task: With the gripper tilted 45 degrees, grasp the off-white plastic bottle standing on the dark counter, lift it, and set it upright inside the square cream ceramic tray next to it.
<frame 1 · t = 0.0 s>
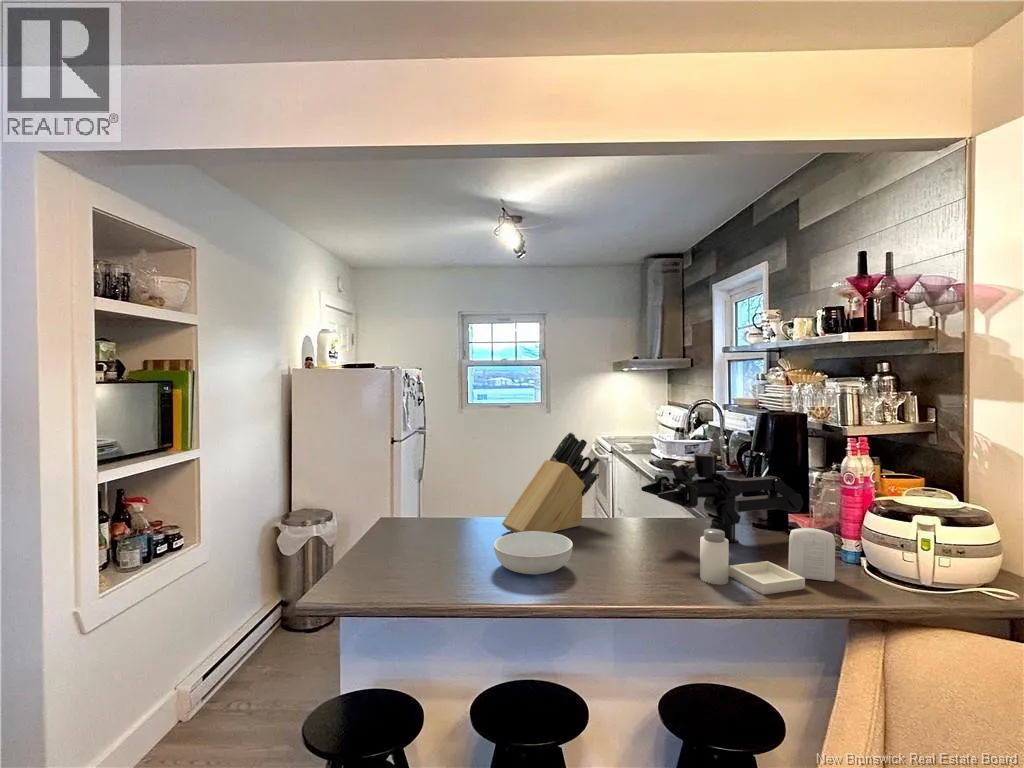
hand: (649, 492, 154), 17 cm above the counter, tool horizontal, fingers open, 9 cm apart
knife block: (553, 527, 176), on the counter
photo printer: (811, 578, 132), on the counter
serving bowl: (533, 569, 139), on the counter
cream tray: (765, 581, 129), on the counter
white bottle: (714, 579, 131), on the counter
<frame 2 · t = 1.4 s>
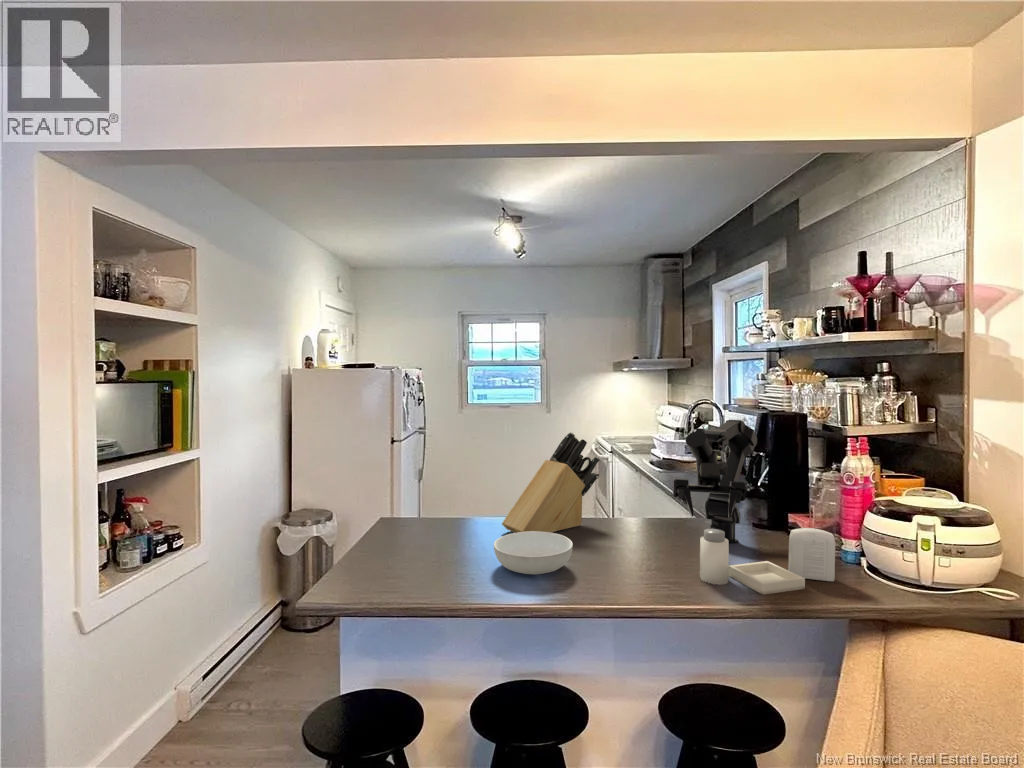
hand: (711, 517, 138), 13 cm above the counter, tool tilted 45°, fingers open, 9 cm apart
nothing on the counter moved.
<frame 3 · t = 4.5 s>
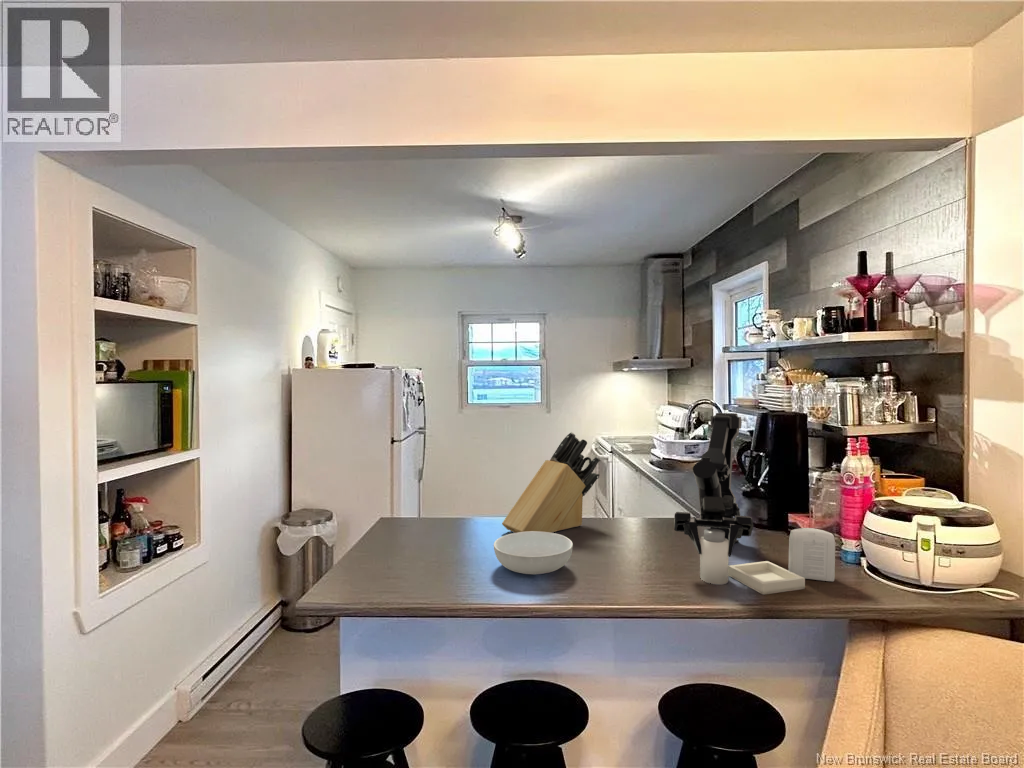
hand: (714, 554, 129), 7 cm above the counter, tool tilted 45°, fingers closed on white bottle, 7 cm apart
white bottle: (714, 579, 131), on the counter, touching gripper
everything else where it was.
when the fingers open (8 cm above the counter, at t = 8.5 s): white bottle drops 1 cm, resting on cream tray.
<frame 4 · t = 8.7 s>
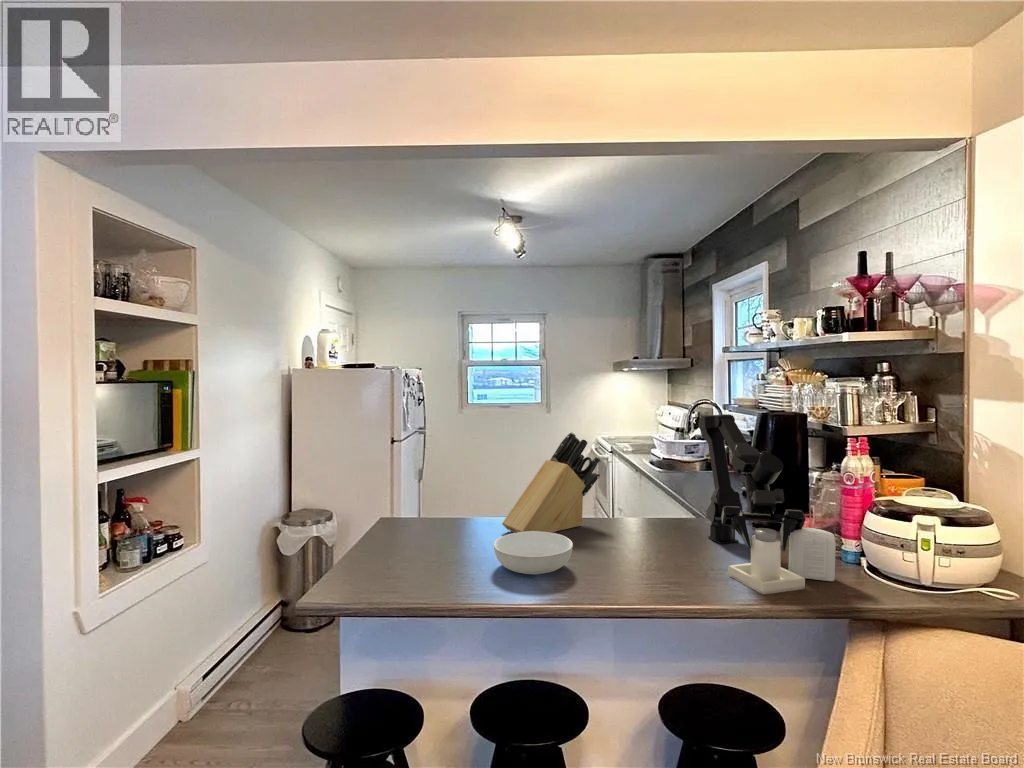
hand: (766, 549, 128), 9 cm above the counter, tool tilted 45°, fingers open, 7 cm apart
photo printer: (811, 578, 132), on the counter, touching gripper
white bottle: (765, 579, 129), point 1 cm above the counter, touching cream tray
everything else where it was.
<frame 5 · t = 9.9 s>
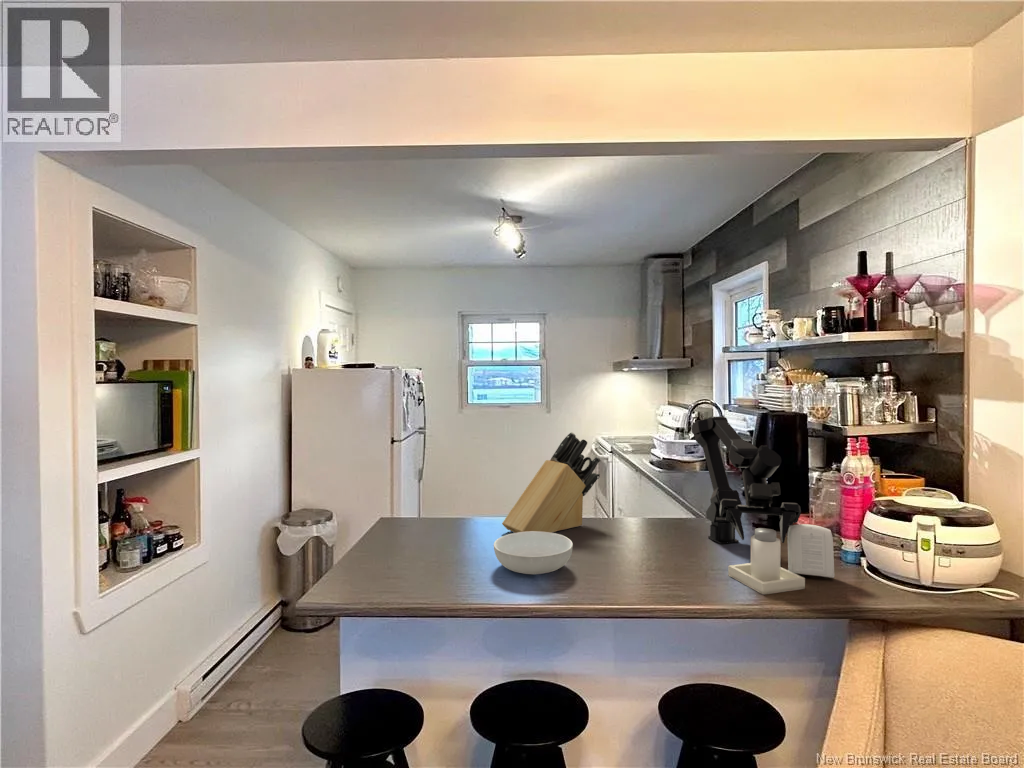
hand: (763, 540, 131), 10 cm above the counter, tool tilted 45°, fingers open, 9 cm apart
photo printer: (811, 576, 132), on the counter
everything else where it was.
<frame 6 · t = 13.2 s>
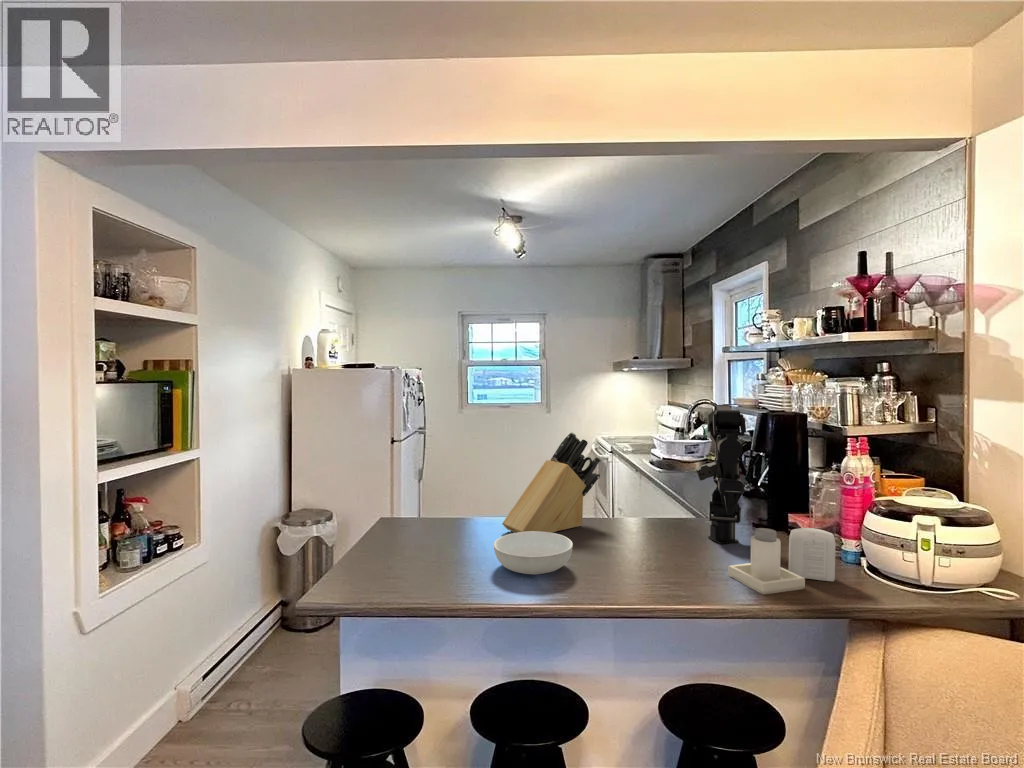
hand: (727, 510, 147), 13 cm above the counter, tool pointing down, fingers open, 9 cm apart
at the end: white bottle 0.1 cm off-centre on the cream tray, point 0.6 cm above the cream tray's base; white bottle tilted 0°; the gripper is holding nothing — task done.
